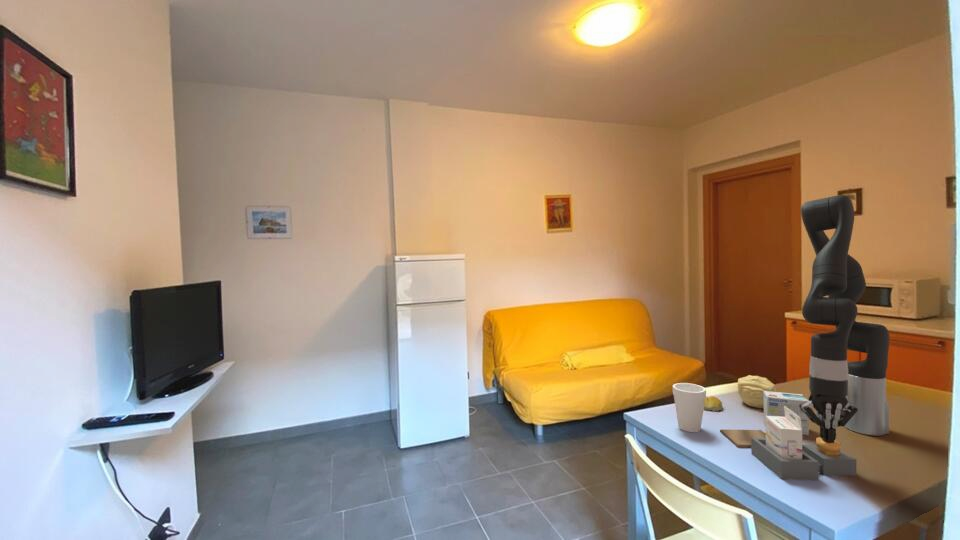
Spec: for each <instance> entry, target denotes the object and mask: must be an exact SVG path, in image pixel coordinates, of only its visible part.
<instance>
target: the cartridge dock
mask: <svg viewBox="0 0 960 540" xmlns="http://www.w3.org/2000/svg"><path fill="white" fill-rule="evenodd" d="M750 449H751V450H750V451H751V455H752V456H753V457H755V458H756V459H757V460H758V461H759V462H760V463H762V464H763V465H764V466H765V467H766V468H767V469H769V470H770V471H771V472H772V473H773V474H775V475H776V476H777V477H778V478H779V479H781V480H798V481H799V480H800V481H802V480H803V481H805V480H806V481H807V480H809V481H812V480H813V481H819V479H820V478H819V474H821V475H824V476H825V475H826V476H827V475H829V476H857V458H854V457H853V456H851V455H850V454H848V453H846V452H845V451H843V450H841V451H840V452H839V455H825V454H824V453H822V452H821V451H819V450H818V447H817V446H816V444H802V460H796V459H782V458H781V457H779V456H778V455H777V454H776V453H774V452H773V451H772V450H770V449H769V448H768V447H766V438H752V439H751V448H750Z"/></svg>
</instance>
